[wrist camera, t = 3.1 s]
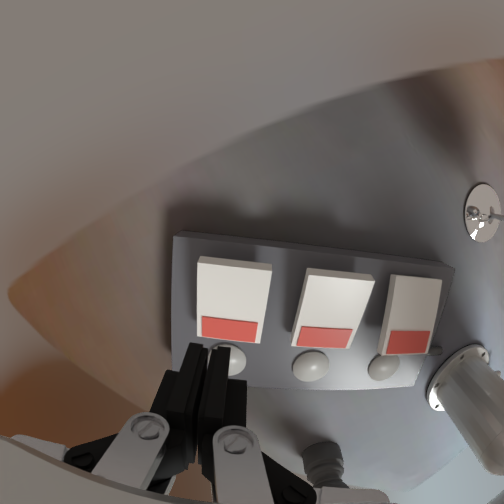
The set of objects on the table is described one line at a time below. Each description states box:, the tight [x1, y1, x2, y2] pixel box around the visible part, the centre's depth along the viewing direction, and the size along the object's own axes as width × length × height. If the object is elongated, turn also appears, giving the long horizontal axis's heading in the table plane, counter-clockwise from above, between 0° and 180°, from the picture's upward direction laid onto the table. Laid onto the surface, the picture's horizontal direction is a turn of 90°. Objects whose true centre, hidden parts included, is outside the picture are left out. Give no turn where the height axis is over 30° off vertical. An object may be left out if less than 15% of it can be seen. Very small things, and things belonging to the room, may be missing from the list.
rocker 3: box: [377, 274, 442, 356], centre depth 26 cm, size 6×8×1 cm
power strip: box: [171, 230, 455, 390], centre depth 30 cm, size 35×16×3 cm, turn 84°
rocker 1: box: [197, 256, 272, 344], centre depth 25 cm, size 6×8×1 cm
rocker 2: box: [290, 268, 375, 349], centre depth 26 cm, size 6×8×1 cm
